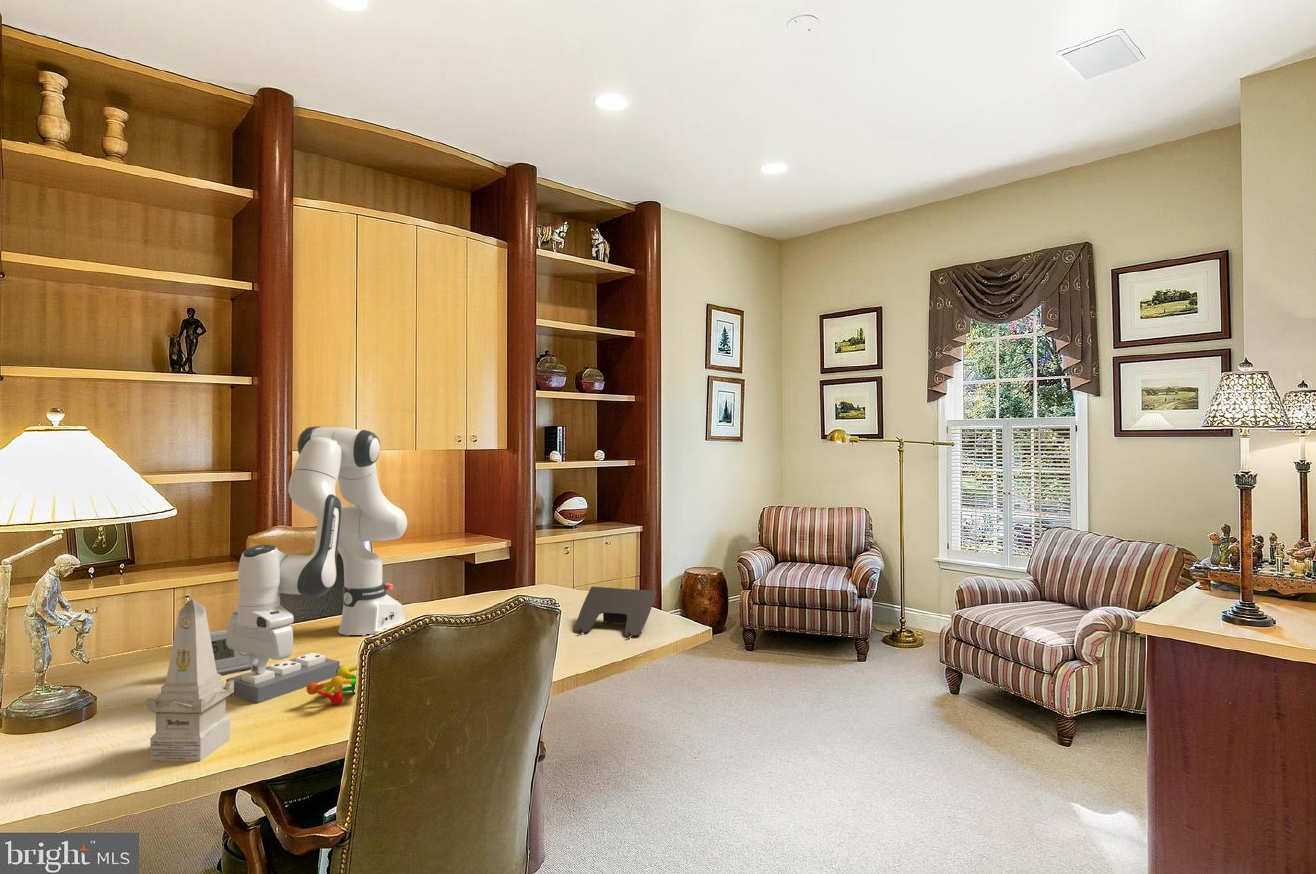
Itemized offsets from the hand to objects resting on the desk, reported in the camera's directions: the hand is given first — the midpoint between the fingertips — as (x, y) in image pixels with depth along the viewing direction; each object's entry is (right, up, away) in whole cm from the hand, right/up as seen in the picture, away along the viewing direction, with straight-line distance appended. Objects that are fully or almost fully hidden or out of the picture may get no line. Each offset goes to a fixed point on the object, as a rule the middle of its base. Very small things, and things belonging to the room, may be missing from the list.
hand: (258, 672), depth 171 cm
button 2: (+3, -3, +6) cm, 8 cm away
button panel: (+3, -5, +6) cm, 9 cm away
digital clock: (-18, -5, +14) cm, 23 cm away
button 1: (0, -3, 0) cm, 3 cm away
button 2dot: (+6, -3, +13) cm, 15 cm away
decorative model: (+21, -6, -2) cm, 22 cm away
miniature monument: (+3, -6, -30) cm, 30 cm away
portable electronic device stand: (+82, -6, +60) cm, 101 cm away
